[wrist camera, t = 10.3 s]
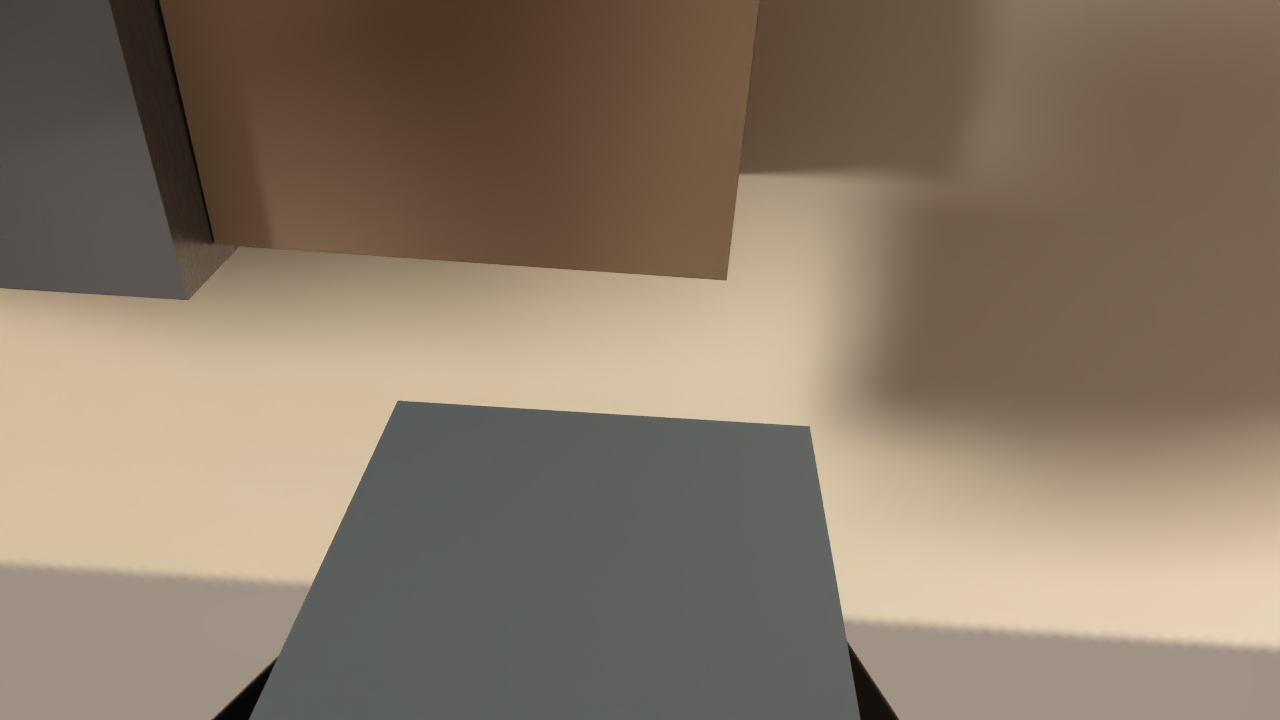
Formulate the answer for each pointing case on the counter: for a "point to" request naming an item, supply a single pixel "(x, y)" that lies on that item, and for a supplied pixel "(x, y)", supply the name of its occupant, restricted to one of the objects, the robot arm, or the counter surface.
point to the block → (573, 576)
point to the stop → (97, 155)
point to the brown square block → (471, 127)
